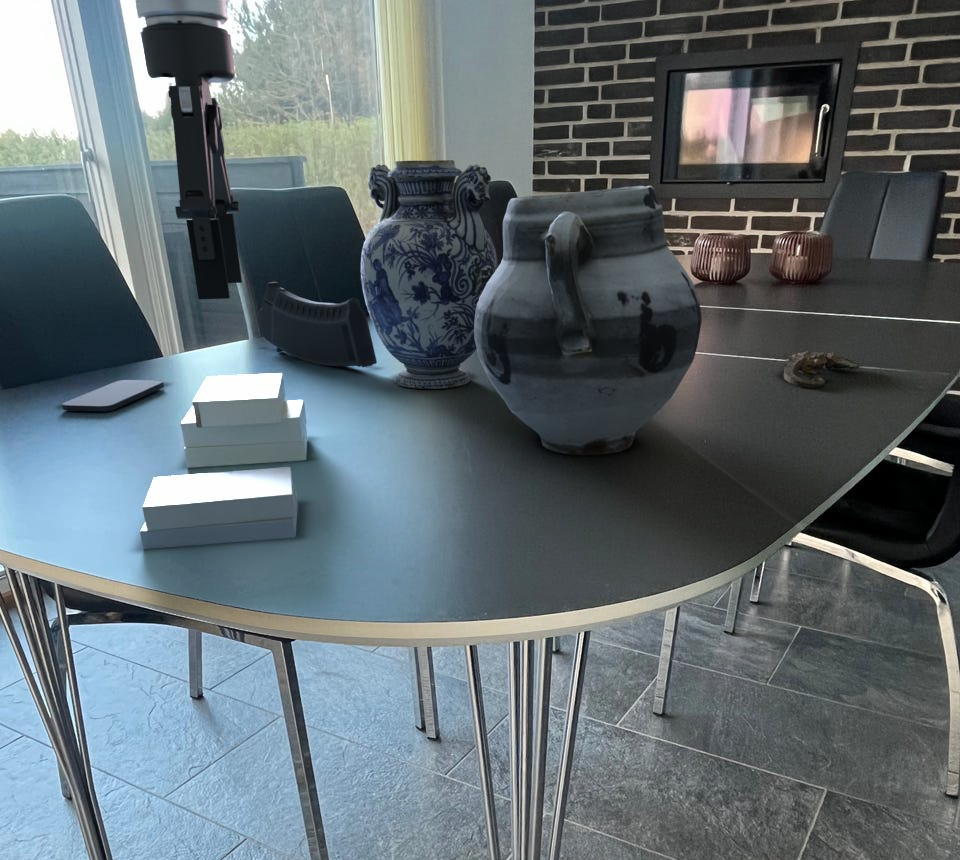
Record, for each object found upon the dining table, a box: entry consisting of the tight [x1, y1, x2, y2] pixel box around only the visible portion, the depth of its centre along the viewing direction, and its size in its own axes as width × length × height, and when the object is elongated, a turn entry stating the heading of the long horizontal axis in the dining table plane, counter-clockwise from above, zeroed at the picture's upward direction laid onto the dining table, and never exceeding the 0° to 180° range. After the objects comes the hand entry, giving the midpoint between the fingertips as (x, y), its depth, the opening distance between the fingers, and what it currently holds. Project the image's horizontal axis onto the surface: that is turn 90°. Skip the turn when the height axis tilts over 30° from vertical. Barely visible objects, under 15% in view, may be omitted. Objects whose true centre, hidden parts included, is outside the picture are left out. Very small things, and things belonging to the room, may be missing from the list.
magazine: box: [259, 281, 378, 368], centre depth 138 cm, size 17×3×30 cm
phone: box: [61, 379, 165, 412], centre depth 119 cm, size 7×1×15 cm
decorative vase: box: [360, 159, 499, 390], centre depth 118 cm, size 21×19×28 cm
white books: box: [180, 399, 308, 469], centre depth 92 cm, size 12×8×5 cm
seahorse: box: [782, 348, 860, 389], centre depth 122 cm, size 9×16×3 cm, turn 132°
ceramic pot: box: [474, 185, 703, 456], centre depth 88 cm, size 29×23×25 cm
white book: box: [191, 372, 286, 427], centre depth 90 cm, size 8×12×2 cm
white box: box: [139, 466, 299, 550], centre depth 73 cm, size 12×8×4 cm
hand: (221, 290), depth 85 cm, fingers open, 13 cm apart
